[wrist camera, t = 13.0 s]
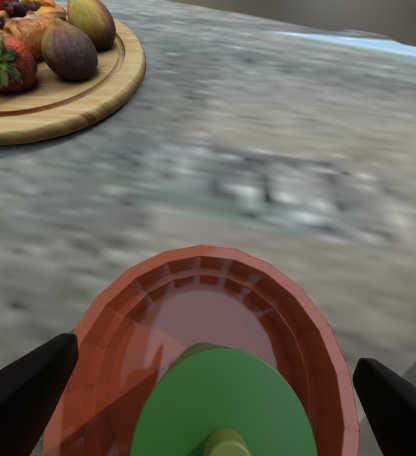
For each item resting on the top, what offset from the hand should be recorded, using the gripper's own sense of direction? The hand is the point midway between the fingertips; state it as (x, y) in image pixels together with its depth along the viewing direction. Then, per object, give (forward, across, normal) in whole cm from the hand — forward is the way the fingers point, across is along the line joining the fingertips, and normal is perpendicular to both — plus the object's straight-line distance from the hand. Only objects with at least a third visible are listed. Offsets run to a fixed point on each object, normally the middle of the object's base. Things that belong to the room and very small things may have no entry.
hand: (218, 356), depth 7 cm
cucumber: (+7, 0, +9) cm, 11 cm away
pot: (+7, 0, +9) cm, 12 cm away
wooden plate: (+32, +27, -16) cm, 45 cm away
